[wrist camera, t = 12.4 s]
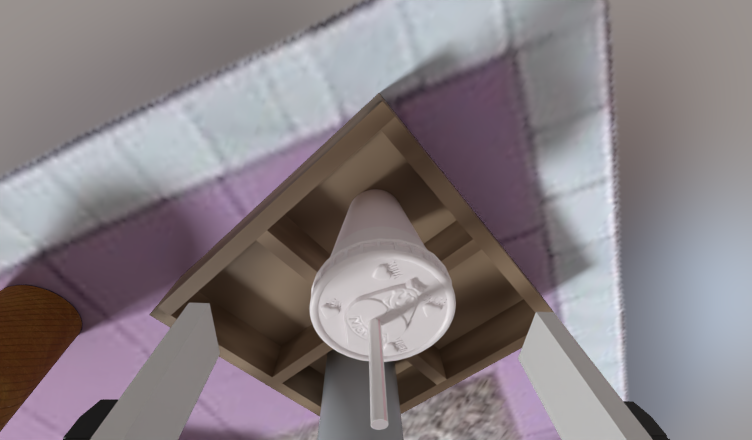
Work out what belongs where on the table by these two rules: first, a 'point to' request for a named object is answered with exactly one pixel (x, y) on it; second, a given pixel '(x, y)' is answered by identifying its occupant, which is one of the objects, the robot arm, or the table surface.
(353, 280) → the smoothie
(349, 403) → the grey jar
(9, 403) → the disposable coffee cup
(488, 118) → the table surface
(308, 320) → the bottle crate
